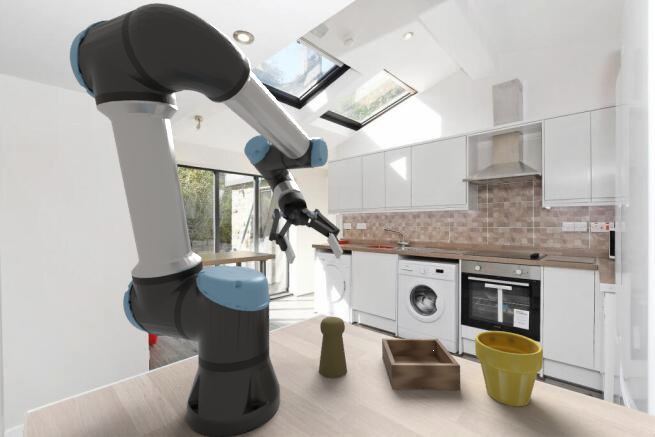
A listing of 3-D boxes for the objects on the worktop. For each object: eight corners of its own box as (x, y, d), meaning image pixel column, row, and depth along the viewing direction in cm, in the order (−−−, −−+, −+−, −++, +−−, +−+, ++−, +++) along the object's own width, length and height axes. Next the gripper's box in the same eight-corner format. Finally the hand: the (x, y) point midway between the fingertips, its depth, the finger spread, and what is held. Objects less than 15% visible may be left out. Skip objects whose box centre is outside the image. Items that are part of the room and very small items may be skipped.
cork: (326, 361, 68) (325, 312, 68) (351, 367, 65) (351, 316, 65) (313, 374, 62) (313, 320, 62) (340, 380, 60) (339, 324, 60)
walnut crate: (392, 389, 56) (391, 364, 56) (382, 358, 69) (382, 338, 69) (460, 389, 56) (460, 365, 56) (438, 358, 68) (437, 338, 69)
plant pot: (542, 423, 47) (541, 359, 47) (470, 399, 53) (469, 343, 53) (544, 392, 55) (543, 338, 55) (481, 375, 61) (481, 326, 61)
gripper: (322, 209, 96) (351, 262, 83) (244, 209, 83) (265, 272, 70) (331, 191, 91) (363, 244, 79) (250, 188, 78) (274, 251, 65)
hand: (317, 257), depth 74 cm, fingers open, 13 cm apart
